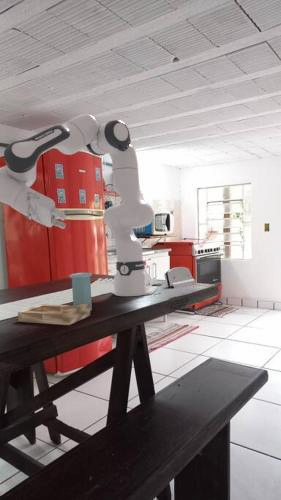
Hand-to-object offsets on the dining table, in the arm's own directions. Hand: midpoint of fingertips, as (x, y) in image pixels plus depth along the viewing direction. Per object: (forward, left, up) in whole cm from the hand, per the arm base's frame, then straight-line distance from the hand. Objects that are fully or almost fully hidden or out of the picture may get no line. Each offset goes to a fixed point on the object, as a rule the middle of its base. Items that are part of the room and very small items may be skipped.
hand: (65, 222), depth 118 cm
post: (-2, +4, -31) cm, 31 cm away
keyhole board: (+9, +1, -31) cm, 32 cm away
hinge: (-61, +21, -31) cm, 72 cm away
